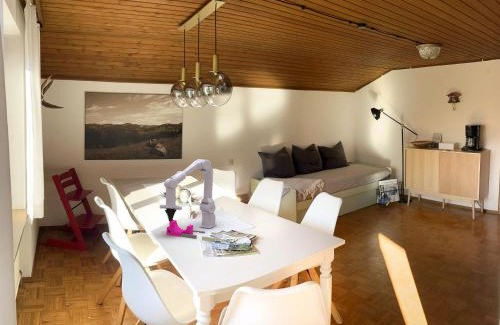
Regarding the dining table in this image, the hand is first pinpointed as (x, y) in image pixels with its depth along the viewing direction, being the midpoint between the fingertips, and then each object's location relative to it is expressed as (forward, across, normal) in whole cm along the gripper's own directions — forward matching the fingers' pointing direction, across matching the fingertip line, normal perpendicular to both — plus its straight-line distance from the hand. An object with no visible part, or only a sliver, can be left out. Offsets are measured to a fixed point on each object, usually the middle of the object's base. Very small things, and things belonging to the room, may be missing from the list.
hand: (170, 221), depth 232 cm
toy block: (+10, +3, +4) cm, 11 cm away
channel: (+9, +11, +7) cm, 16 cm away
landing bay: (+9, +27, +7) cm, 29 cm away
